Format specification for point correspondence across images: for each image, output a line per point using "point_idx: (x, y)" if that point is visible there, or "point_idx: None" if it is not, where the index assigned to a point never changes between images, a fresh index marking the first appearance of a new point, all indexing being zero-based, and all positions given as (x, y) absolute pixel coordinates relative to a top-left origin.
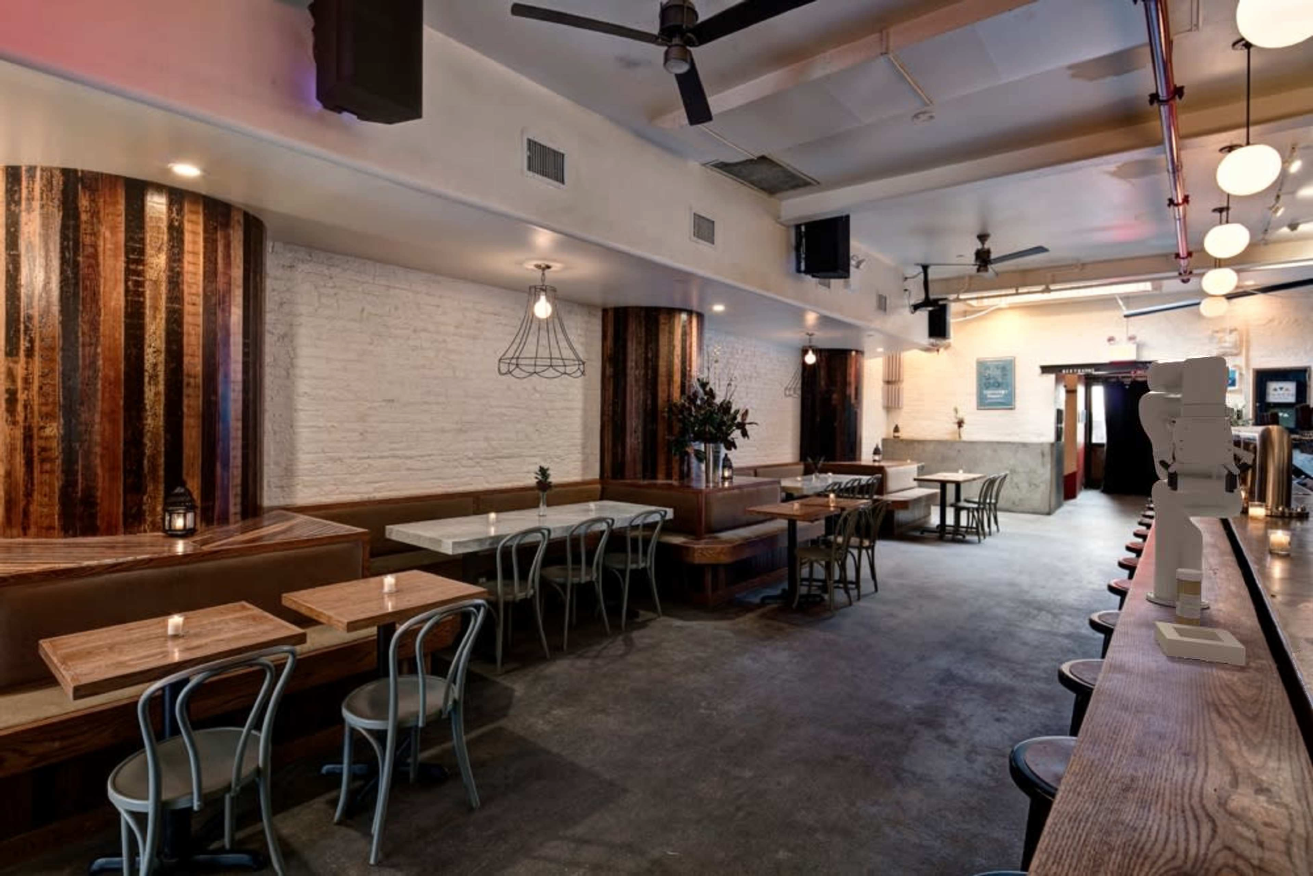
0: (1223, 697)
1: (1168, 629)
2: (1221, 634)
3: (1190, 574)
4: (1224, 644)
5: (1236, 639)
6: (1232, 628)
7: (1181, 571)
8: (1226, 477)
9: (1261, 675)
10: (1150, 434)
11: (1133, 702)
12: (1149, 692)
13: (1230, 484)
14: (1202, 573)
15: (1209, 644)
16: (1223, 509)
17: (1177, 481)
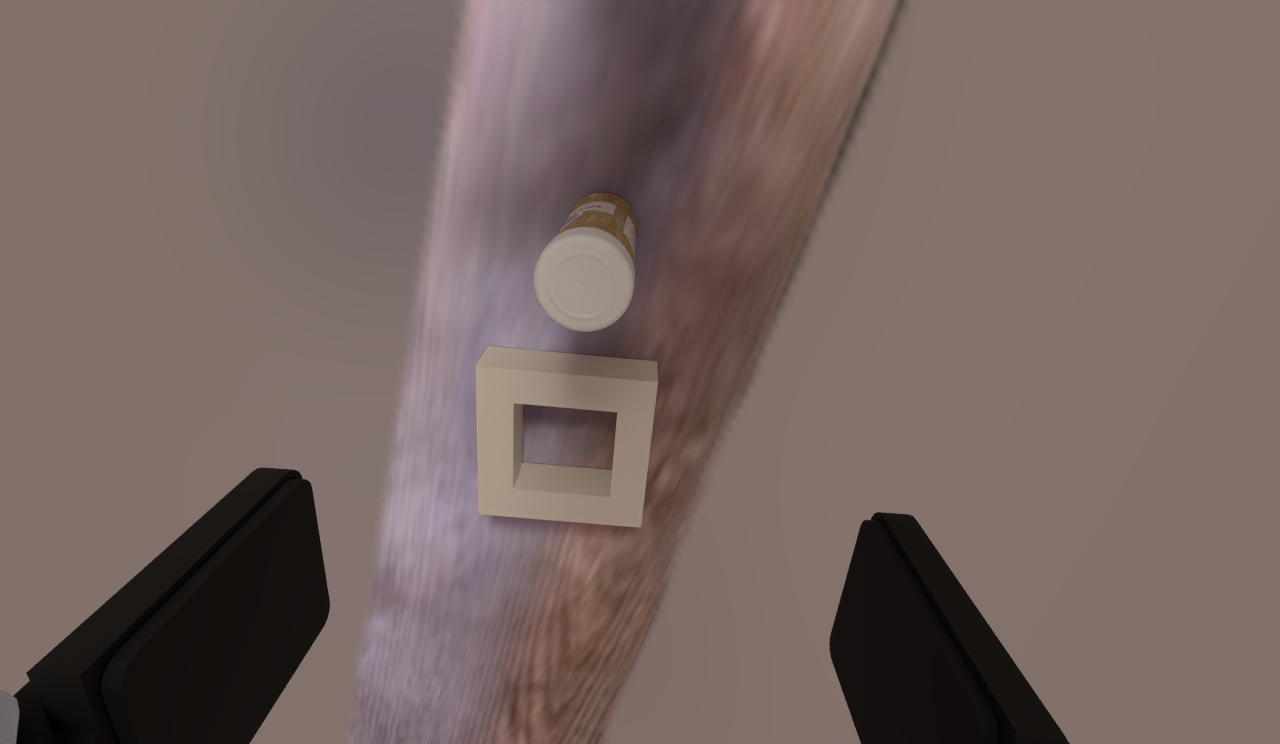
0: (539, 661)
1: (498, 435)
2: (625, 435)
3: (575, 330)
4: (601, 516)
5: (647, 465)
6: (761, 137)
7: (544, 311)
8: (940, 716)
9: (652, 540)
10: None
11: (396, 716)
12: (424, 676)
13: (866, 740)
14: (629, 303)
15: (568, 519)
16: None
17: (263, 716)
